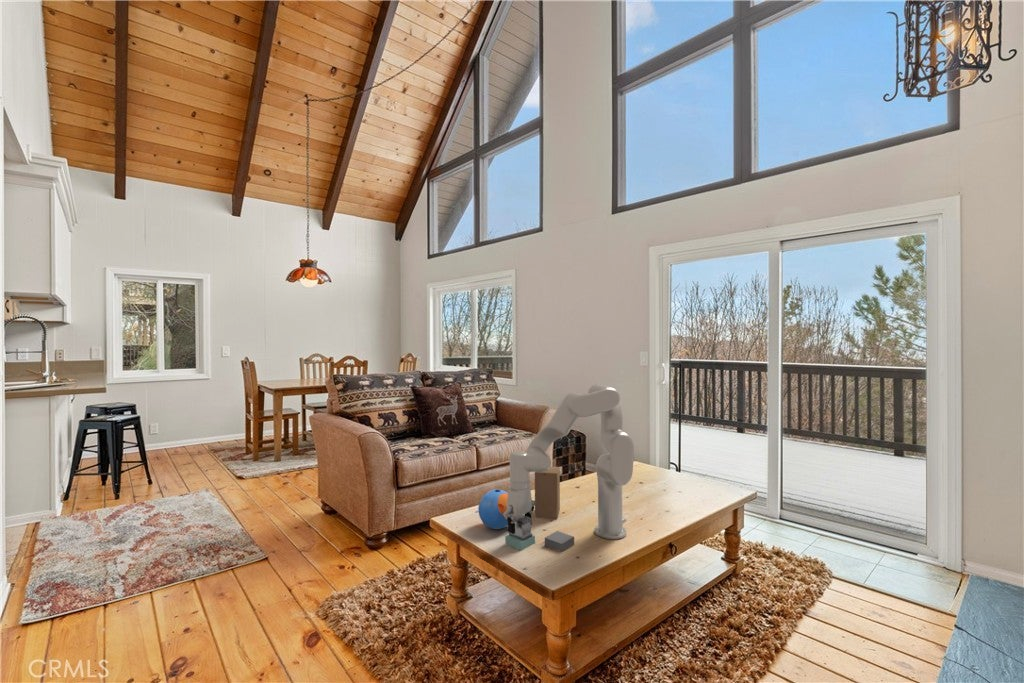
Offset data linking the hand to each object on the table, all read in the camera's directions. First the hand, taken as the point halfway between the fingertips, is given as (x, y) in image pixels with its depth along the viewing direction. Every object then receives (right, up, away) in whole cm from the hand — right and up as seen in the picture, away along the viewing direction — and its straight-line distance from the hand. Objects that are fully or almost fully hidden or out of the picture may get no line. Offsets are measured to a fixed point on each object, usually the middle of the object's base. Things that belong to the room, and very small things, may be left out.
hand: (520, 528), depth 180 cm
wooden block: (+13, -5, +29) cm, 32 cm away
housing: (0, -3, 0) cm, 3 cm away
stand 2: (+15, -6, -1) cm, 16 cm away
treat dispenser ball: (-9, -6, +15) cm, 19 cm away
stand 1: (0, -6, 0) cm, 6 cm away
